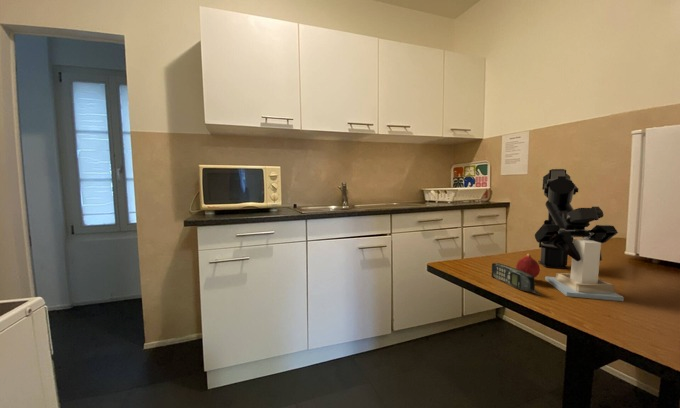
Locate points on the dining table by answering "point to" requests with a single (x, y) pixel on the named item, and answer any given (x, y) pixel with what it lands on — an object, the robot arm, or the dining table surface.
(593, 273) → the block
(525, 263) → the onion
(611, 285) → the socket collar
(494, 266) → the mobile phone
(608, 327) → the dining table surface
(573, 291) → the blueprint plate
